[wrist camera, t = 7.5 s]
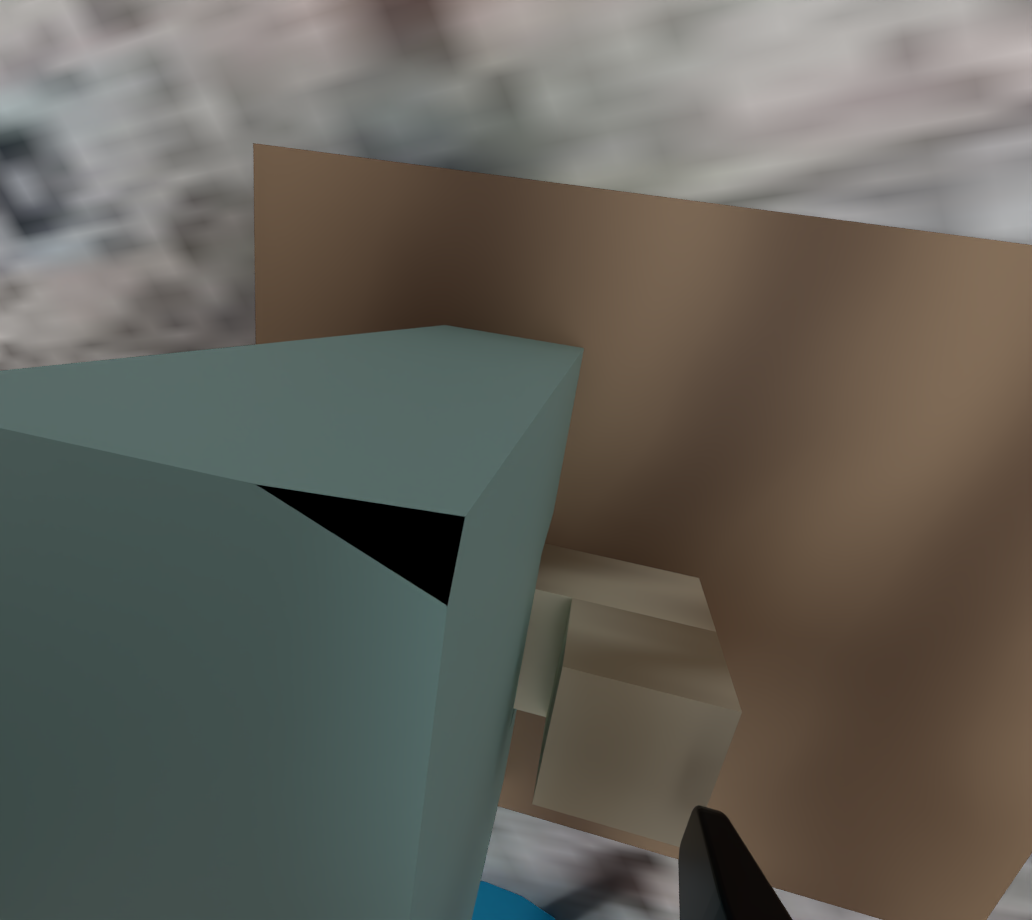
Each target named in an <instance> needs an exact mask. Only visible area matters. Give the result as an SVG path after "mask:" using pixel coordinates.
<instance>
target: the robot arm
mask: <svg viewBox="0 0 1032 920" xmlns="http://www.w3.org/2000/svg"><path fill="white" fill-rule="evenodd" d="M678 864H679V903H680V920H792V918H791V917H790V915H789V913H788V912H787V910H786V909H785V907H784V905H783V904H782V902H781V901H780V899H779V898H778V896H777V894H776V893H775V891H774V890H773V888H772V886H771V885H770V883H769V882H768V880H767V879H766V877H765V875H764V874H763V872H762V871H761V869H760V867H759V866H758V864H757V863H756V861H755V859H754V858H753V856H752V855H751V853H750V852H749V850H748V848H747V847H746V845H745V844H744V842H743V840H742V839H741V837H740V836H739V834H738V832H737V831H736V829H735V828H734V826H733V825H732V823H731V821H730V820H729V818H728V817H727V816H726V815H725V814H724V813H723V812H721V811H718V810H715V809H711V808H708V807H704V806H701V805H697V806H695V807H694V808H693V810H692V812H691V815H690V818H689V820H688V823H687V826H686V829H685V832H684V834H683V837H682V840H681V843H680V848H679V859H678Z"/></svg>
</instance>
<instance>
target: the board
mask: <svg viewBox="0 0 1032 920" xmlns="http://www.w3.org/2000/svg"><path fill="white" fill-rule="evenodd" d="M253 148H254V235H255V323H256V344H266V343H275V342H285V341H295V340H305V339H314V338H324V337H334V336H343V335H353V334H363V333H373V332H382V331H392V330H402V329H411V328H421V327H431V326H441V325H448V326H454V327H460V328H466V329H472V330H478V331H484V332H490V333H496V334H502V335H508V336H514V337H520V338H526V339H532V340H538V341H544V342H550V343H556V344H562V345H568V346H574V347H580V348H584V351H583V356H582V362H581V367H580V372H579V378H578V383H577V389H576V394H575V399H574V405H573V410H572V415H571V421H570V426H569V432H568V437H567V442H566V448H565V453H564V458H563V464H562V469H561V475H560V480H559V485H558V491H557V496H556V501H555V507H554V512H553V516H552V519H551V523H550V526H549V530H548V533H547V537H546V540H545V544H549V545H554V546H558V547H563V548H567V549H572V550H576V551H581V552H585V553H589V554H594V555H598V556H603V557H607V558H612V559H616V560H621V561H625V562H630V563H634V564H639V565H643V566H647V567H652V568H656V569H661V570H665V571H670V572H674V573H679V574H683V575H688V576H692V577H697V578H699V580H700V583H701V586H702V589H703V592H704V595H705V598H706V601H707V604H708V608H709V611H710V614H711V617H712V620H713V623H714V626H715V629H716V633H717V636H718V639H719V642H720V645H721V648H722V651H723V654H724V658H725V661H726V664H727V667H728V670H729V673H730V676H731V679H732V683H733V686H734V689H735V692H736V695H737V698H738V701H739V704H740V707H741V711H742V714H741V716H740V719H739V722H738V724H737V727H736V730H735V732H734V735H733V738H732V740H731V743H730V746H729V748H728V751H727V754H726V757H725V759H724V762H723V765H722V767H721V770H720V773H719V775H718V778H717V781H716V783H715V786H714V789H713V791H712V794H711V797H710V799H709V802H708V805H707V807H708V808H711V809H715V810H718V811H721V812H723V813H724V814H725V815H726V816H727V817H728V818H729V820H730V821H731V823H732V825H733V826H734V828H735V829H736V831H737V832H738V834H739V836H740V837H741V839H742V840H743V842H744V844H745V845H746V847H747V848H748V850H749V852H750V853H751V855H752V856H753V858H754V859H755V861H756V863H757V864H758V866H759V867H760V869H761V871H762V872H763V874H764V875H765V877H766V879H767V880H768V882H769V883H770V885H771V886H772V887H774V888H777V889H781V890H784V891H788V892H791V893H794V894H798V895H801V896H805V897H808V898H811V899H815V900H818V901H821V902H825V903H828V904H832V905H835V906H838V907H842V908H845V909H849V910H852V911H855V912H859V913H862V914H866V915H869V916H872V917H876V918H879V919H882V920H986V919H987V918H988V916H989V915H990V913H991V912H992V910H993V909H994V908H995V906H996V905H997V903H998V902H999V900H1000V899H1001V897H1002V896H1003V894H1004V893H1005V891H1006V890H1007V888H1008V887H1009V885H1010V884H1011V883H1012V881H1013V880H1014V878H1015V877H1016V875H1017V874H1018V872H1019V871H1020V869H1021V868H1022V866H1023V865H1024V863H1025V862H1026V861H1027V859H1028V858H1029V856H1030V855H1031V853H1032V245H1027V244H1019V243H1011V242H1004V241H996V240H988V239H981V238H973V237H965V236H958V235H950V234H942V233H935V232H927V231H920V230H912V229H904V228H897V227H889V226H881V225H874V224H866V223H858V222H851V221H843V220H836V219H828V218H820V217H813V216H805V215H797V214H790V213H782V212H774V211H767V210H759V209H751V208H744V207H736V206H729V205H721V204H713V203H706V202H698V201H690V200H683V199H675V198H667V197H660V196H652V195H644V194H637V193H629V192H622V191H614V190H606V189H599V188H591V187H583V186H576V185H568V184H560V183H553V182H545V181H538V180H530V179H522V178H515V177H507V176H499V175H492V174H484V173H476V172H469V171H461V170H453V169H446V168H438V167H431V166H423V165H415V164H408V163H400V162H392V161H385V160H377V159H369V158H362V157H354V156H346V155H339V154H331V153H324V152H316V151H308V150H301V149H293V148H285V147H278V146H270V145H262V144H255V143H253ZM545 722H546V717H543V716H540V715H536V714H532V713H529V712H525V711H521V710H517V711H516V717H515V722H514V727H513V733H512V738H511V743H510V749H509V754H508V760H507V765H506V770H505V776H504V781H503V785H502V789H501V794H500V798H499V802H498V806H499V807H503V808H506V809H510V810H513V811H516V812H520V813H523V814H527V815H530V816H533V817H537V818H540V819H543V820H547V821H550V822H554V823H557V824H560V825H564V826H567V827H571V828H574V829H577V830H581V831H584V832H588V833H591V834H594V835H598V836H601V837H605V838H608V839H611V840H615V841H618V842H621V843H625V844H628V845H632V846H635V847H638V848H642V849H645V850H649V851H652V852H655V853H659V854H662V855H666V856H669V857H672V858H676V859H679V848H680V847H677V846H674V845H670V844H667V843H664V842H660V841H657V840H653V839H650V838H646V837H643V836H640V835H636V834H633V833H629V832H626V831H622V830H619V829H616V828H612V827H609V826H605V825H602V824H598V823H595V822H592V821H588V820H585V819H581V818H578V817H574V816H571V815H568V814H564V813H561V812H557V811H554V810H550V809H547V808H544V807H540V806H537V805H533V804H532V802H533V796H534V790H535V784H536V778H537V771H538V765H539V759H540V753H541V747H542V740H543V734H544V728H545Z"/></svg>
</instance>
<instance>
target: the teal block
mask: <svg viewBox="0 0 1032 920" xmlns="http://www.w3.org/2000/svg"><path fill="white" fill-rule="evenodd" d="M583 351H584V348H580V347H574V346H568V345H562V344H556V343H550V342H544V341H538V340H532V339H526V338H520V337H514V336H508V335H502V334H496V333H490V332H484V331H478V330H472V329H466V328H460V327H454V326H448V325H441V326H431V327H421V328H411V329H402V330H392V331H382V332H373V333H363V334H353V335H343V336H334V337H324V338H314V339H305V340H295V341H285V342H275V343H266V344H256V345H246V346H237V347H227V348H217V349H207V350H198V351H188V352H178V353H169V354H159V355H149V356H139V357H130V358H120V359H110V360H100V361H91V362H81V363H71V364H62V365H52V366H42V367H32V368H23V369H13V370H3V371H0V920H472V915H473V911H474V907H475V902H476V898H477V894H478V889H479V885H480V880H481V876H482V872H483V867H484V863H485V859H486V854H487V850H488V846H489V841H490V837H491V833H492V828H493V824H494V820H495V815H496V811H497V807H498V802H499V798H500V794H501V789H502V785H503V781H504V776H505V770H506V765H507V760H508V754H509V749H510V743H511V738H512V733H513V727H514V722H515V717H516V711H517V709H514V702H515V697H516V691H517V686H518V680H519V675H520V670H521V664H522V659H523V653H524V648H525V642H526V637H527V631H528V626H529V620H530V615H531V609H532V604H533V599H534V593H535V588H536V582H537V577H538V571H539V566H540V560H541V555H542V551H543V547H544V544H545V540H546V537H547V533H548V530H549V526H550V523H551V519H552V516H553V512H554V507H555V501H556V496H557V491H558V485H559V480H560V475H561V469H562V464H563V458H564V453H565V448H566V442H567V437H568V432H569V426H570V421H571V415H572V410H573V405H574V399H575V394H576V389H577V383H578V378H579V372H580V367H581V362H582V356H583ZM392 555H393V556H398V557H402V558H406V559H410V560H414V561H419V562H423V563H427V564H431V565H436V566H440V567H444V568H448V569H453V570H455V571H454V576H453V581H452V586H451V591H450V596H449V601H448V606H447V605H445V604H444V603H442V602H440V601H439V600H437V599H436V598H434V597H433V596H431V595H429V594H428V593H426V592H425V591H423V590H422V589H420V588H418V587H417V586H415V585H414V584H412V583H410V582H409V581H407V580H406V579H404V578H403V577H401V576H399V575H398V574H396V573H395V572H393V571H392V570H391V563H392Z"/></svg>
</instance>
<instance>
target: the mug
mask: <svg viewBox="0 0 1032 920" xmlns="http://www.w3.org/2000/svg"><path fill="white" fill-rule="evenodd" d="M472 920H556V919H555V918H554V917H552V916H551V915H549V914H548V913H546V912H545V911H543V910H542V909H540V908H539V907H537V906H536V905H534V904H533V903H531V902H530V901H528V900H527V899H525V898H524V897H522V896H520V895H518V894H515V893H512V892H510V891H507V890H505V889H502V888H500V887H497V886H495V885H492V884H489V883H487V882H484V881H480V885H479V889H478V894H477V898H476V902H475V907H474V911H473V915H472Z"/></svg>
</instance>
